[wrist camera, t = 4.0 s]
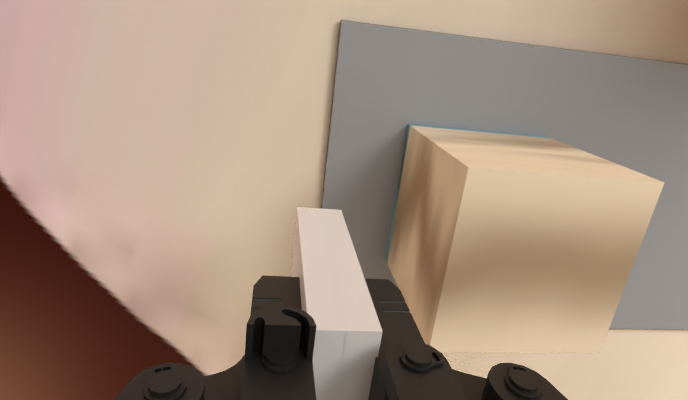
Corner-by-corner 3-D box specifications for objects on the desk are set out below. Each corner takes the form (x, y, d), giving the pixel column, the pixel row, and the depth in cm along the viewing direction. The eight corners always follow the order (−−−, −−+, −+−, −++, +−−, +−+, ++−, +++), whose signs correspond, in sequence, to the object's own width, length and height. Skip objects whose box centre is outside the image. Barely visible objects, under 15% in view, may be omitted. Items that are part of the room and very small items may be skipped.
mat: (341, 20, 18) (341, 19, 18) (867, 88, 23) (874, 88, 23) (309, 321, 24) (310, 324, 23) (746, 327, 28) (750, 330, 28)
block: (407, 123, 20) (468, 167, 14) (546, 136, 21) (664, 182, 15) (385, 259, 22) (428, 352, 16) (511, 264, 24) (599, 352, 17)
